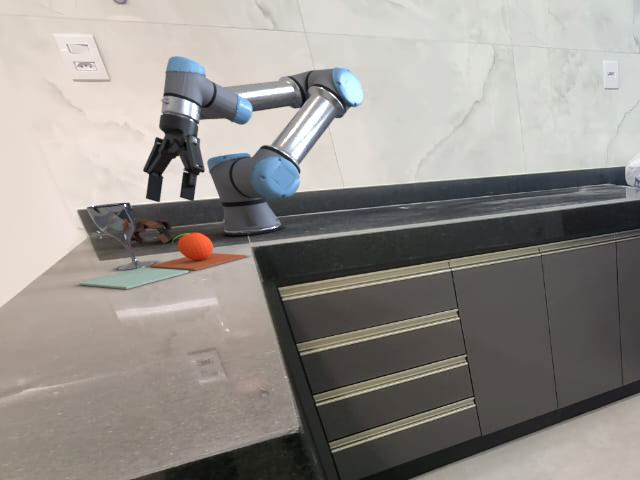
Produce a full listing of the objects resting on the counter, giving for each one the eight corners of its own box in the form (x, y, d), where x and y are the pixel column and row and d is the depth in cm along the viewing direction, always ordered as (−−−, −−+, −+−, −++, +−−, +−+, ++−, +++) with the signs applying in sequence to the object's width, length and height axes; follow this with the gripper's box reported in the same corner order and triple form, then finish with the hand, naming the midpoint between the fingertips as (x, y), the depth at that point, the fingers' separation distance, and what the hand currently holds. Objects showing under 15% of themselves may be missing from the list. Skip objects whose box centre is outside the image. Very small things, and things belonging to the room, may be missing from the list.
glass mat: (143, 269, 130) (142, 267, 130) (188, 272, 126) (187, 270, 126) (80, 285, 119) (79, 282, 119) (126, 289, 115) (125, 287, 114)
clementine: (179, 265, 130) (167, 237, 127) (178, 261, 135) (166, 233, 132) (219, 259, 135) (208, 231, 132) (216, 254, 139) (205, 227, 136)
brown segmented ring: (159, 247, 156) (130, 225, 152) (143, 260, 160) (114, 239, 155) (188, 228, 165) (161, 207, 161) (172, 241, 169) (145, 220, 164)
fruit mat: (203, 254, 143) (202, 252, 143) (246, 256, 138) (245, 255, 138) (150, 267, 132) (149, 265, 132) (195, 270, 127) (194, 268, 127)
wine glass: (151, 260, 139) (125, 201, 133) (161, 264, 135) (134, 203, 128) (112, 267, 133) (82, 207, 127) (120, 271, 129) (90, 209, 122)
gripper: (132, 115, 138) (121, 195, 137) (195, 108, 130) (184, 193, 129) (166, 129, 145) (156, 205, 144) (228, 123, 137) (217, 203, 136)
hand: (169, 199), depth 136 cm, fingers open, 13 cm apart
